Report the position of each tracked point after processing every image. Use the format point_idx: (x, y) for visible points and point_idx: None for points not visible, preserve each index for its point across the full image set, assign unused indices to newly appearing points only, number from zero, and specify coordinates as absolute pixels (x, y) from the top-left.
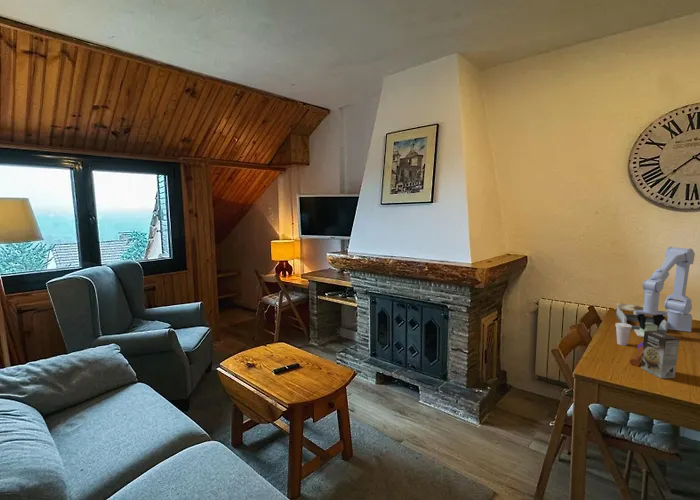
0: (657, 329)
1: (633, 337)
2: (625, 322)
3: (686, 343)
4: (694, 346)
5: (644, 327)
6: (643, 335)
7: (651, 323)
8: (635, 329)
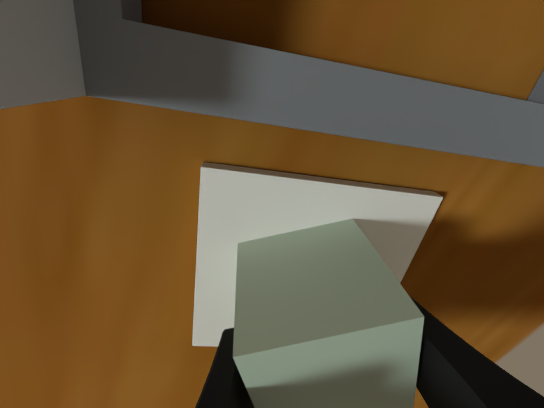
0: None
1: (150, 365)
2: (23, 100)
3: None
4: None
5: None
6: None
7: (397, 358)
8: (215, 176)
